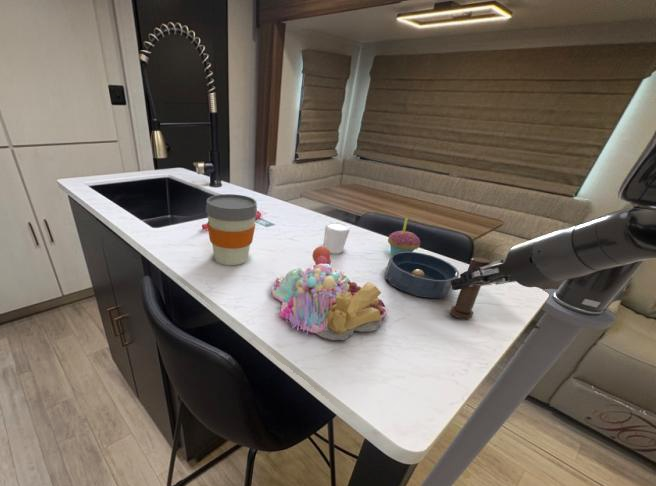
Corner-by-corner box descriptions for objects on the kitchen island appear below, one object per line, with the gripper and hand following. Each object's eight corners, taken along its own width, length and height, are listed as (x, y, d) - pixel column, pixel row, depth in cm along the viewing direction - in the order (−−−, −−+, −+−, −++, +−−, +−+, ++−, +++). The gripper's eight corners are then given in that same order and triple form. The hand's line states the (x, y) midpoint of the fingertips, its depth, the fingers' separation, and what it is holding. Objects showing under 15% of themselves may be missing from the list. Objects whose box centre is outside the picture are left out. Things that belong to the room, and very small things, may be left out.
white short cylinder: (334, 243, 94) (339, 221, 91) (349, 252, 89) (355, 229, 86) (316, 246, 92) (320, 223, 88) (330, 255, 87) (335, 232, 83)
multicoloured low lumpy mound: (404, 311, 65) (419, 273, 60) (338, 361, 52) (351, 317, 47) (313, 266, 80) (319, 233, 75) (244, 296, 67) (246, 257, 62)
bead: (420, 269, 77) (423, 280, 76) (407, 271, 77) (410, 283, 77) (424, 267, 74) (427, 279, 73) (411, 269, 74) (414, 281, 74)
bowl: (428, 269, 83) (435, 252, 80) (464, 300, 71) (473, 281, 68) (375, 268, 82) (380, 250, 79) (401, 299, 69) (408, 280, 67)
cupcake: (398, 263, 85) (413, 221, 78) (377, 251, 91) (389, 211, 85) (420, 259, 88) (437, 218, 81) (399, 247, 94) (412, 209, 88)
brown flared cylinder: (462, 309, 66) (481, 256, 61) (476, 318, 63) (498, 263, 58) (445, 310, 66) (464, 256, 60) (459, 319, 62) (480, 263, 57)
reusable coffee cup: (204, 267, 77) (202, 207, 68) (209, 246, 87) (208, 192, 79) (254, 269, 77) (258, 210, 69) (253, 248, 88) (257, 195, 79)
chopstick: (263, 221, 109) (255, 213, 111) (264, 216, 108) (256, 208, 110) (206, 235, 96) (198, 226, 97) (207, 229, 94) (199, 220, 96)
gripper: (579, 233, 50) (482, 265, 66) (512, 236, 46) (427, 269, 63) (594, 277, 48) (491, 299, 65) (526, 284, 45) (436, 305, 62)
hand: (460, 284), depth 64 cm, fingers closed on brown flared cylinder, 3 cm apart
